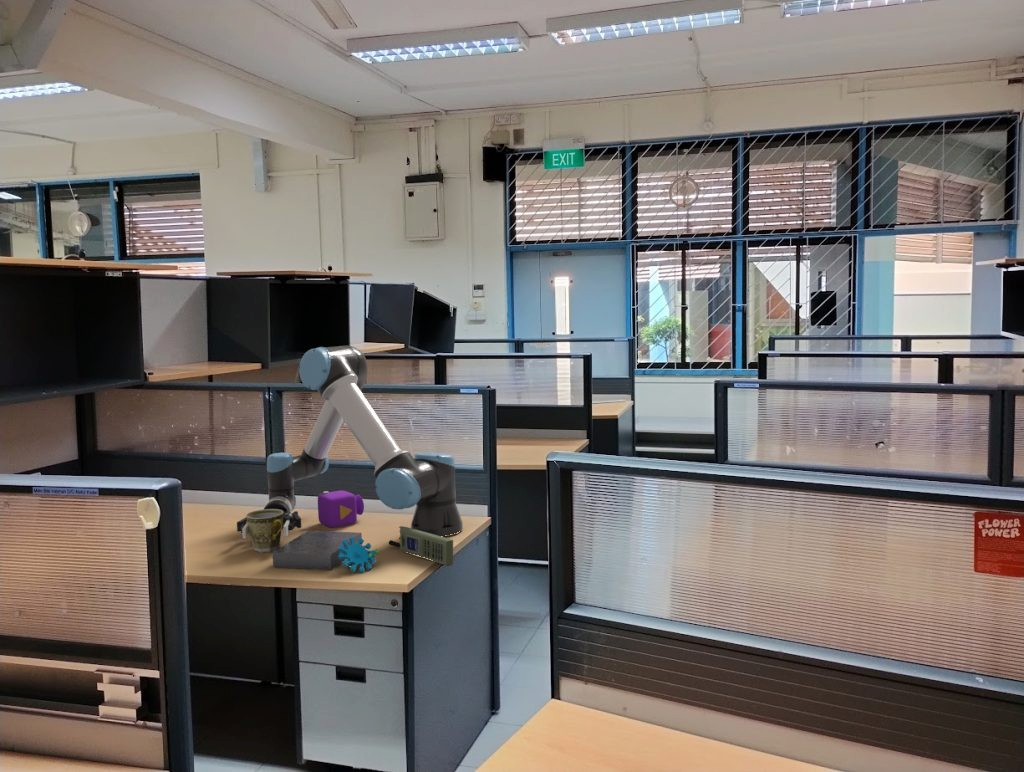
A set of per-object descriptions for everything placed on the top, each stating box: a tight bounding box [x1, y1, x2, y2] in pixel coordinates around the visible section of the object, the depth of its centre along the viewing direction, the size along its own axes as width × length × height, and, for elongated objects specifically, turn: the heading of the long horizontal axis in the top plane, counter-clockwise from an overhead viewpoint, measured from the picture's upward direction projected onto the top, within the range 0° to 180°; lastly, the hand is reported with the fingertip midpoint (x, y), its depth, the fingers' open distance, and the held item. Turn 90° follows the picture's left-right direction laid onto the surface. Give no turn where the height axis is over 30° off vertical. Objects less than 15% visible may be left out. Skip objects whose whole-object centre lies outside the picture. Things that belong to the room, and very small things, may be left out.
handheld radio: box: [388, 525, 454, 567], centre depth 212 cm, size 7×3×25 cm
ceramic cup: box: [245, 508, 284, 553], centre depth 220 cm, size 13×10×10 cm
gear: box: [338, 537, 379, 573], centre depth 204 cm, size 11×6×10 cm
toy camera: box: [317, 490, 365, 529], centre depth 247 cm, size 11×14×10 cm
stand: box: [271, 530, 363, 571], centre depth 213 cm, size 16×20×4 cm
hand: (264, 532), depth 216 cm, fingers closed on ceramic cup, 10 cm apart
